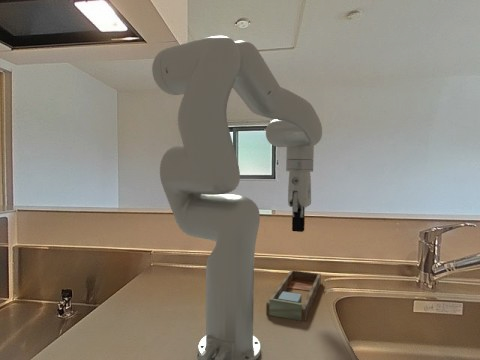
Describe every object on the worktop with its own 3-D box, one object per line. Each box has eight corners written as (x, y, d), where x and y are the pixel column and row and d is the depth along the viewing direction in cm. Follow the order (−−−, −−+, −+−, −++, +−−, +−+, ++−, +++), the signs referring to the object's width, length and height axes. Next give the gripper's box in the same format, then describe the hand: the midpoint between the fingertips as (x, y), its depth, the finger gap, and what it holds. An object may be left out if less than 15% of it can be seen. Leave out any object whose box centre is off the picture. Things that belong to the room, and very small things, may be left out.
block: (297, 317, 82) (297, 301, 82) (277, 314, 84) (278, 298, 83) (301, 309, 86) (301, 294, 86) (282, 306, 88) (282, 291, 88)
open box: (304, 321, 79) (304, 305, 79) (266, 314, 83) (266, 298, 83) (320, 283, 105) (320, 270, 105) (290, 278, 108) (291, 267, 108)
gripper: (308, 166, 85) (306, 237, 85) (317, 166, 98) (315, 227, 99) (279, 166, 87) (278, 234, 88) (292, 166, 101) (291, 225, 102)
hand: (298, 230), depth 94 cm, fingers closed
